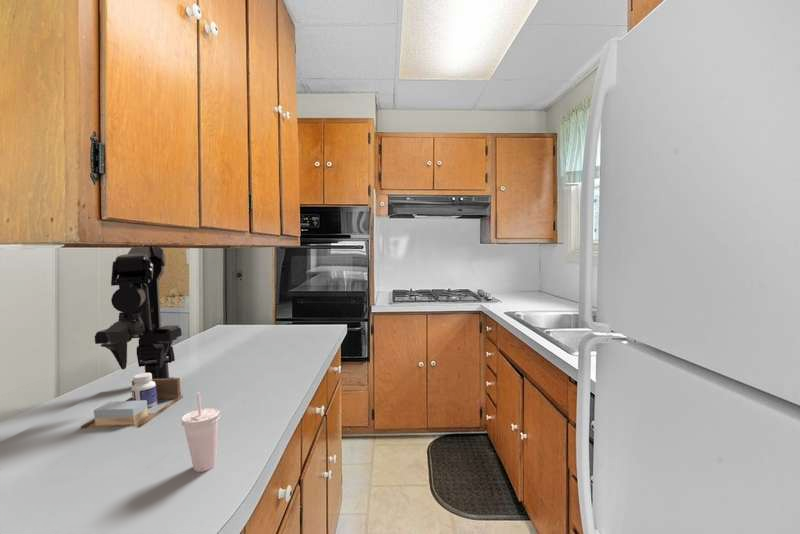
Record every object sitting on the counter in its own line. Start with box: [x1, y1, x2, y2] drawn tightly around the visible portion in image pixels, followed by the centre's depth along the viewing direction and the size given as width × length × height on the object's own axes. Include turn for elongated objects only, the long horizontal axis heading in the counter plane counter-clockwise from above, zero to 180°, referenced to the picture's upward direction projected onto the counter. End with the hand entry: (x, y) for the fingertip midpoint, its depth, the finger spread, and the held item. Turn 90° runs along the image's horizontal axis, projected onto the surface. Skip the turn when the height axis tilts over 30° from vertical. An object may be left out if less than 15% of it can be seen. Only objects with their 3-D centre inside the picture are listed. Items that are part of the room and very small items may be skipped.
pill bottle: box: [130, 372, 158, 409], centre depth 107 cm, size 5×5×9 cm
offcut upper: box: [93, 400, 147, 418], centre depth 98 cm, size 5×9×2 cm, turn 88°
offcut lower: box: [94, 408, 149, 426], centre depth 98 cm, size 5×9×2 cm, turn 88°
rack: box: [80, 377, 184, 430], centre depth 103 cm, size 18×14×6 cm
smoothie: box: [181, 391, 221, 473], centre depth 77 cm, size 6×6×14 cm
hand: (141, 368), depth 106 cm, fingers open, 9 cm apart
